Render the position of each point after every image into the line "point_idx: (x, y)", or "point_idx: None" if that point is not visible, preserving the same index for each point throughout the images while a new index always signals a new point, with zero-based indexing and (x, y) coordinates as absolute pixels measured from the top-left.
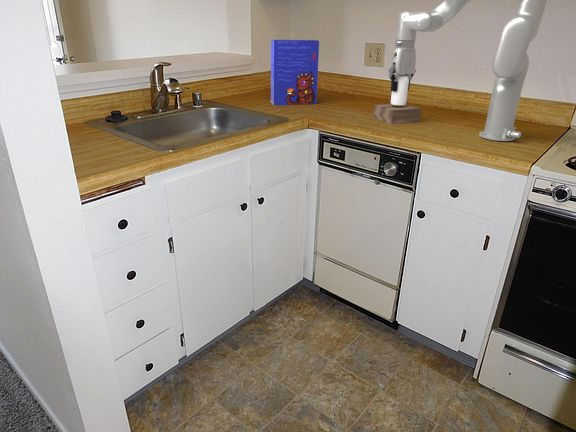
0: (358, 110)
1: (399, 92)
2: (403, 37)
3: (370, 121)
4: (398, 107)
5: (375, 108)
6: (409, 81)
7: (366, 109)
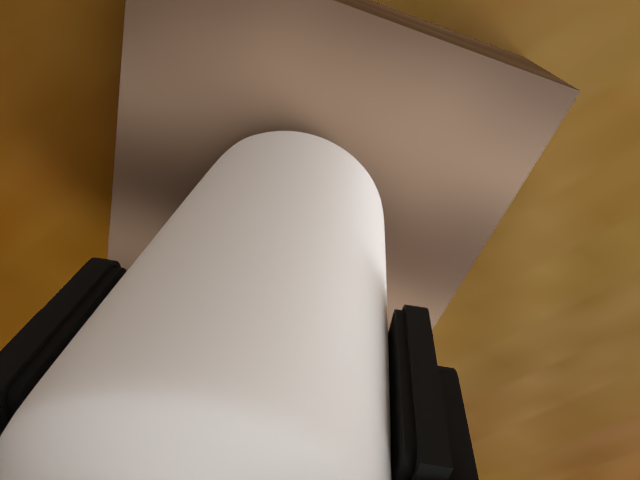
0: None
1: (365, 262)
2: None
3: (551, 239)
4: None
5: None
6: (3, 377)
7: None
